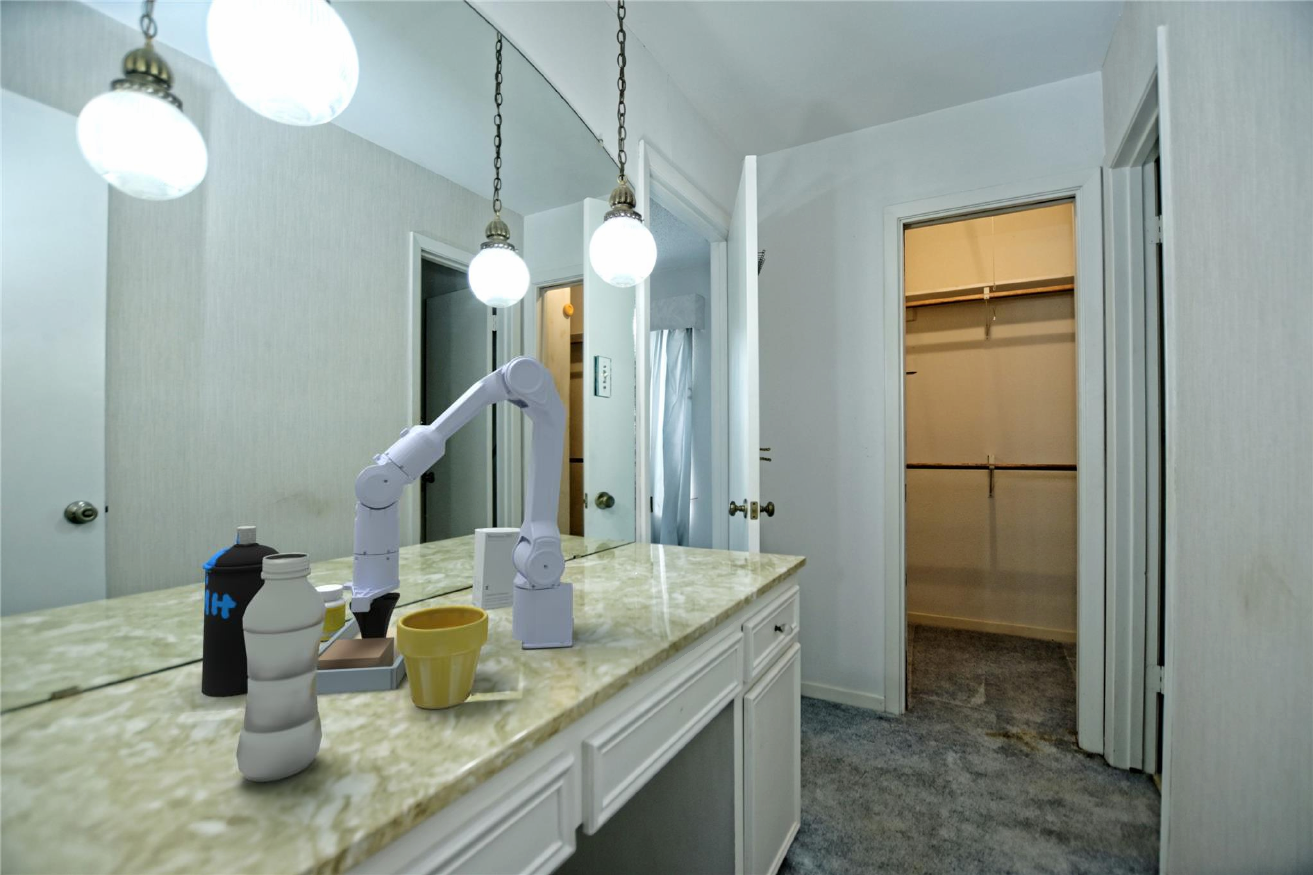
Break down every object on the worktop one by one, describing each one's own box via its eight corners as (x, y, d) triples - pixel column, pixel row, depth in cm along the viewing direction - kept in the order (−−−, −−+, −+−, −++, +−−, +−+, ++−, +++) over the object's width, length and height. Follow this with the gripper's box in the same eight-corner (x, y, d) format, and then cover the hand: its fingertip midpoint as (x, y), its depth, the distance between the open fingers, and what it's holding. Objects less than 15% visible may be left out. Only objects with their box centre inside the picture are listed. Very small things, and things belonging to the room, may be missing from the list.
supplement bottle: (351, 638, 87) (353, 584, 87) (330, 649, 83) (332, 592, 83) (322, 637, 88) (324, 583, 88) (300, 647, 83) (302, 590, 83)
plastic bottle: (262, 752, 55) (269, 549, 56) (334, 751, 56) (340, 550, 56) (217, 793, 49) (224, 563, 49) (299, 791, 50) (305, 564, 50)
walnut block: (393, 663, 76) (394, 637, 76) (378, 685, 69) (379, 657, 69) (336, 666, 74) (337, 639, 74) (315, 689, 67) (316, 660, 67)
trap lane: (464, 630, 92) (465, 609, 92) (439, 694, 69) (439, 665, 69) (357, 635, 89) (358, 613, 89) (292, 703, 66) (293, 673, 66)
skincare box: (481, 616, 100) (483, 532, 100) (470, 607, 105) (472, 527, 105) (526, 609, 105) (527, 529, 105) (513, 601, 110) (515, 524, 110)
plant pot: (419, 677, 74) (421, 602, 74) (497, 680, 73) (499, 605, 73) (377, 715, 63) (379, 628, 63) (468, 719, 63) (470, 631, 63)
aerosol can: (274, 671, 75) (278, 520, 75) (289, 692, 69) (293, 528, 69) (194, 689, 69) (199, 525, 69) (202, 713, 63) (208, 534, 63)
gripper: (361, 542, 85) (359, 632, 84) (325, 562, 70) (323, 671, 70) (411, 541, 86) (409, 630, 86) (386, 561, 72) (383, 668, 72)
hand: (374, 649), depth 78 cm, fingers closed
